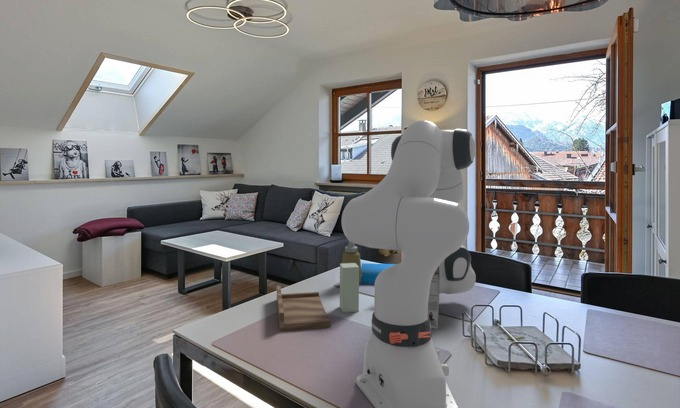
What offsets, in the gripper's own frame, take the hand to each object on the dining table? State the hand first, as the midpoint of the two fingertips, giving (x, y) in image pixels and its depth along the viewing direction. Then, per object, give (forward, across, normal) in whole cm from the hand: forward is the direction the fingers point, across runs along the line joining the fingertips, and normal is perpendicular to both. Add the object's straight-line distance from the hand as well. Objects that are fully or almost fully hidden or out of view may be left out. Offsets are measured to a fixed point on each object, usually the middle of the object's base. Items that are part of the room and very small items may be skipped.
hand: (384, 283), depth 127 cm
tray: (+26, 0, +8) cm, 27 cm away
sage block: (+11, 0, +8) cm, 14 cm away
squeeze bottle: (+5, -24, +8) cm, 26 cm away
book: (-13, -30, +8) cm, 33 cm away
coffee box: (-9, +14, +8) cm, 18 cm away
